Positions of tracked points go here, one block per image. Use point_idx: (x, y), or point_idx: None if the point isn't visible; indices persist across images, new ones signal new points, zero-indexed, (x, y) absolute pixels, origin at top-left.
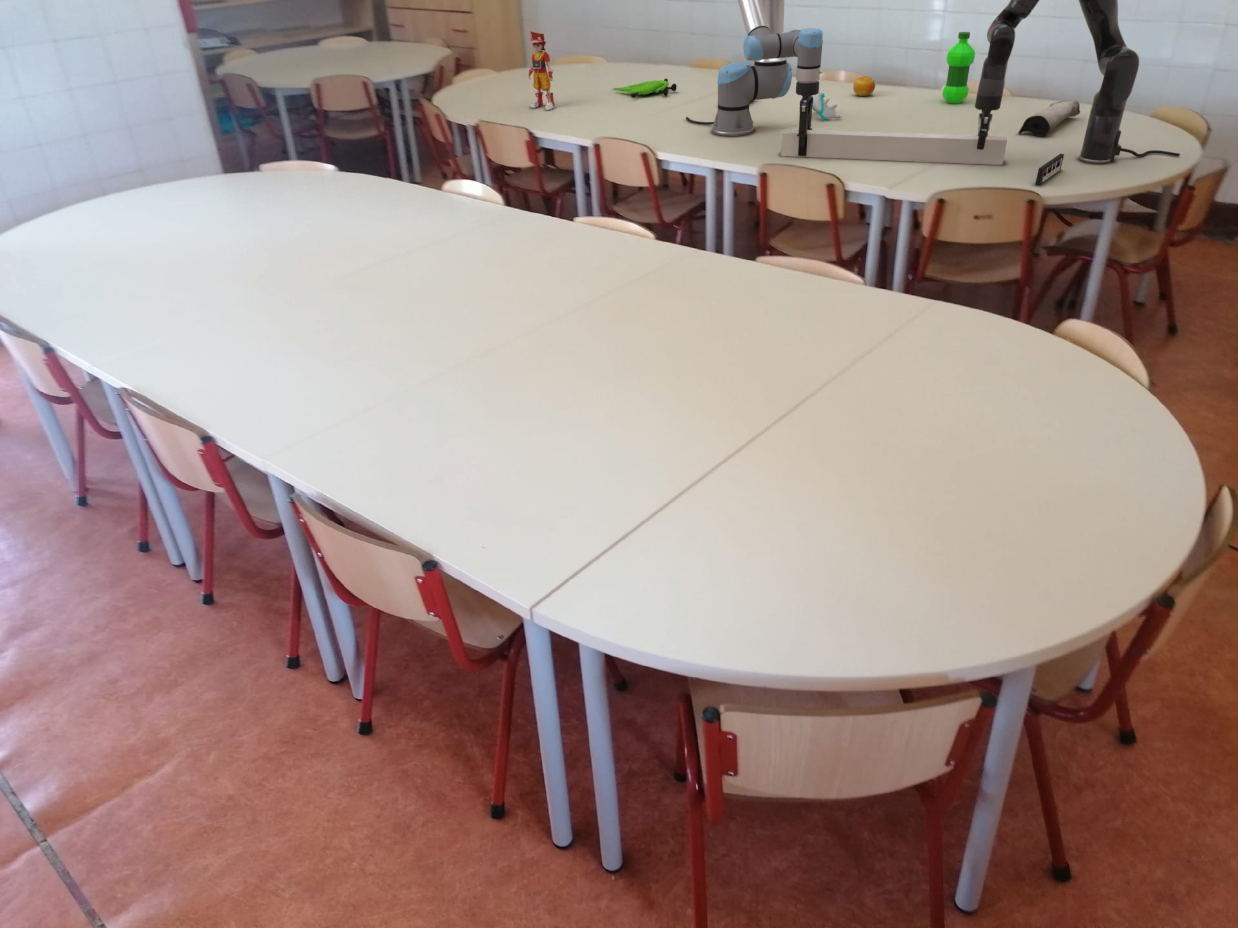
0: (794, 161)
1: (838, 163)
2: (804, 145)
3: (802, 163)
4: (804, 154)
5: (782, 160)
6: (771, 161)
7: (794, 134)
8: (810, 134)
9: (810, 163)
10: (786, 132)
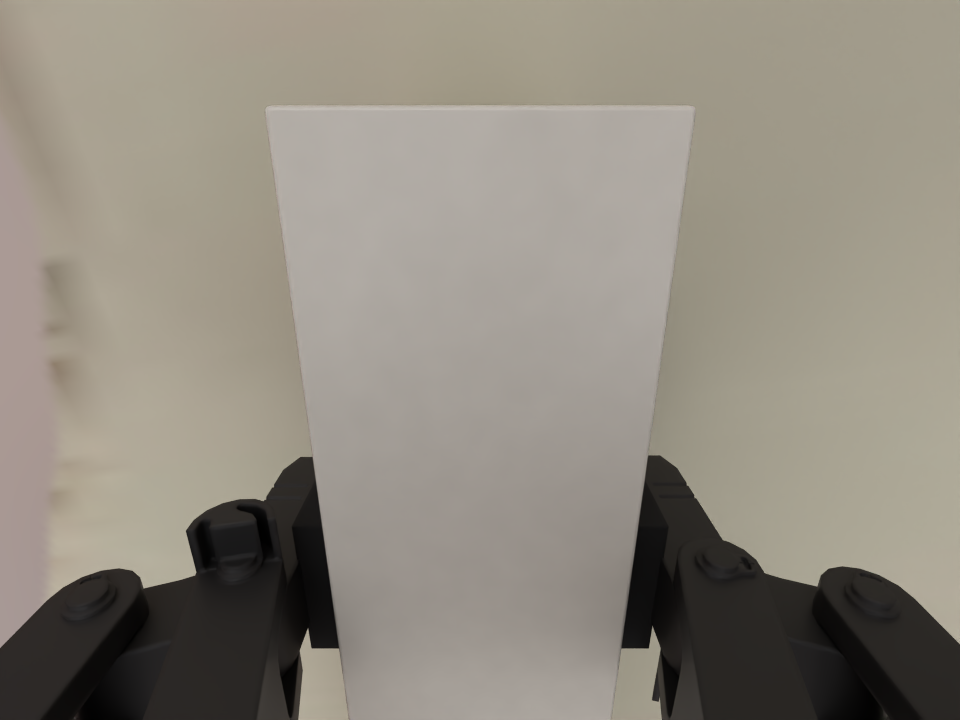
0: (217, 350)
1: None
2: None
3: (175, 440)
4: None
5: (208, 198)
6: (108, 43)
7: (319, 445)
8: (354, 712)
9: (204, 510)
10: (319, 252)
